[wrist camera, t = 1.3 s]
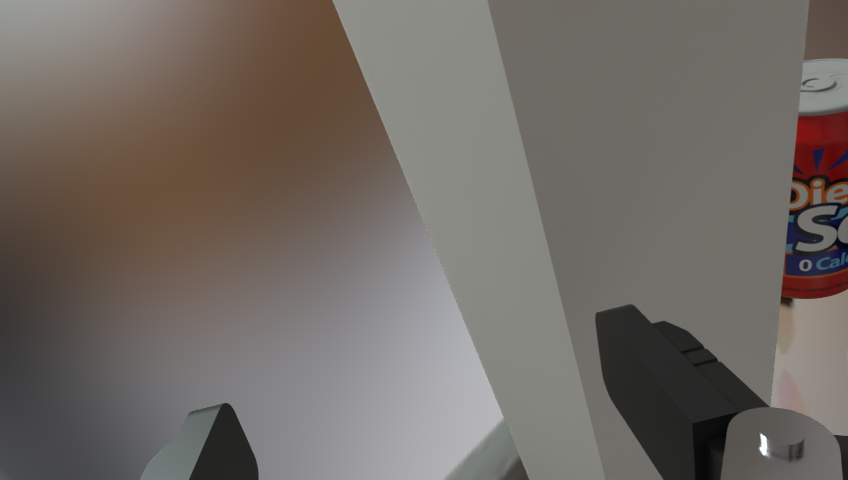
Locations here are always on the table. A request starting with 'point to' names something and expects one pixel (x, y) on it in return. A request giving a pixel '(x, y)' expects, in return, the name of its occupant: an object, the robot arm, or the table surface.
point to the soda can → (819, 186)
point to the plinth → (594, 187)
